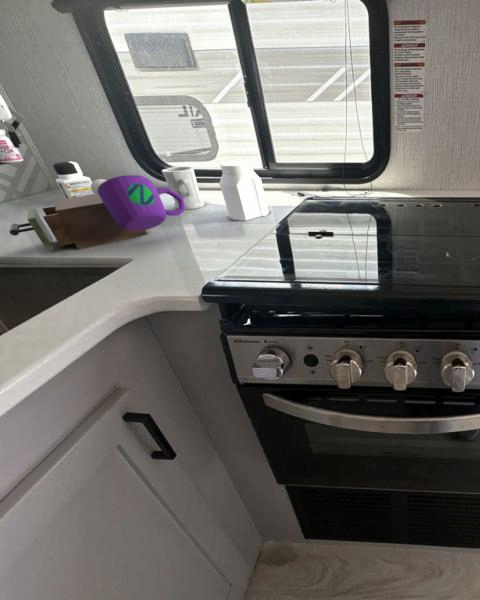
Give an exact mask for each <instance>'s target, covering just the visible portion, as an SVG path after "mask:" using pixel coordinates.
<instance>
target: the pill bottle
mask: <svg viewBox="0 0 480 600" xmlns="http://www.w3.org/2000/svg"><path fill="white" fill-rule="evenodd" d="M23 161H24V158H23V157H22V154H21V152H20V150H19V148H17V147H16V146H15V144H14V142H13V141H12V139H11V137H10V135H9V136H8V131H6V129H5V128H0V162H1V163H3V164H4V163H6V164H10V163H19V162H23Z"/></svg>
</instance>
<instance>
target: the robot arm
mask: <svg viewBox="0 0 480 600" xmlns="http://www.w3.org/2000/svg"><path fill="white" fill-rule="evenodd" d="M13 117H14V118H15V119H14V120H13V121H12V122H11V123H10V122H9V120H11V119H12V118H13ZM25 120H26V118H25V117H24V115H22V114H20V113H18V112H17V111H16V110H14V109H12V108H11V107H9V106H8V104H7V102H6V101H5V99H4V98H3V96H2V95H1V94H0V122H1V124H2V125H4V126H5V128H6V129H7V135H9V137H11V139H12V141H13V142H14V144H15V146H16V147H17V149H19V148H21V146H20V145H22V142H21V140H20V138H19V136H18V135H17V133H16V131H17V129H18V128H19V126H20V125H21V124H22V123H23V122H24V121H25Z"/></svg>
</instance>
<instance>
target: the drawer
mask: <svg viewBox="0 0 480 600" xmlns="http://www.w3.org/2000/svg"><path fill="white" fill-rule="evenodd" d="M41 209H42V211H43V212H44V215H42V217H41V216H40V214H39V212H38V211H37V209H36V207H31V208H27V217H26V219H27V221H28V222H26V223H20V224H18V223H11V224H10V227H9V234H10V235H11V236H19V234H20V233H26V232H31V231H34V232H35V234H36V236H37V237H38V238H39V240H40V242H41V243H42V245H43V246H44V248H45V250H46V251H47V252H50V251H54V250H55V246H54V239H53V238H55V240H56V241H57V243H58V244H59V246H60V247H63V246H67V245H72V244H75V243H74V241H73V240H72V238H71V236H70V234H69V233H68V231H67V229H66V227H65V226H64V224H63V222H62V221H61V219H60V217H59V215H58V214H57V212H56V208H55V205H52V206H46V207H42V208H41ZM42 218H43V219H42ZM43 220H44V221H43ZM45 223H46V224H45ZM47 226H48V227H47ZM48 228H49V229H50V230H49V229H48ZM50 231H51V232H50ZM51 233H52V234H53V236H52V234H51Z"/></svg>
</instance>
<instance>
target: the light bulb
mask: <svg viewBox="0 0 480 600" xmlns="http://www.w3.org/2000/svg"><path fill="white" fill-rule="evenodd" d="M107 180H108V179H105V178H104V179H103V178H99V179H95V180H92V184H91V190H92V192H93V193H94V194H98V187H99V186H100V185H101V184H102V183H103V182H105V181H107Z"/></svg>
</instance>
